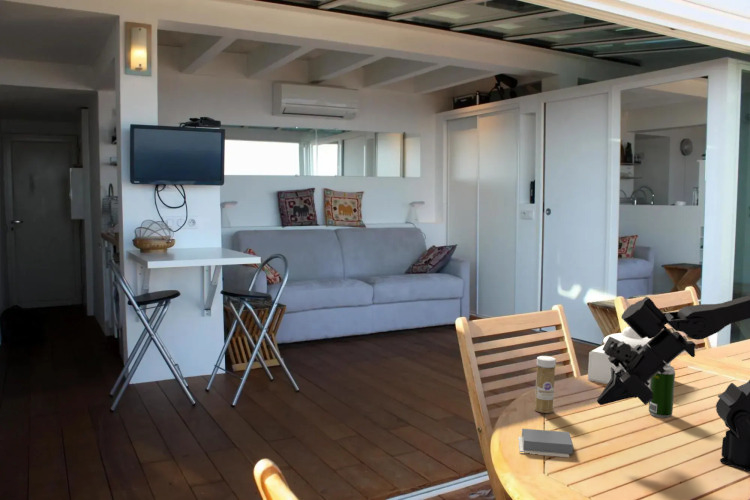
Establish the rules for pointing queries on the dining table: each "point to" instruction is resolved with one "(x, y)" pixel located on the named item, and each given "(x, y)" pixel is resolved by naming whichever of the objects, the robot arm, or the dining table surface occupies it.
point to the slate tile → (547, 441)
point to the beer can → (662, 393)
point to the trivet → (539, 451)
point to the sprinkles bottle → (545, 384)
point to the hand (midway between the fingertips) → (598, 403)
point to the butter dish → (599, 360)
